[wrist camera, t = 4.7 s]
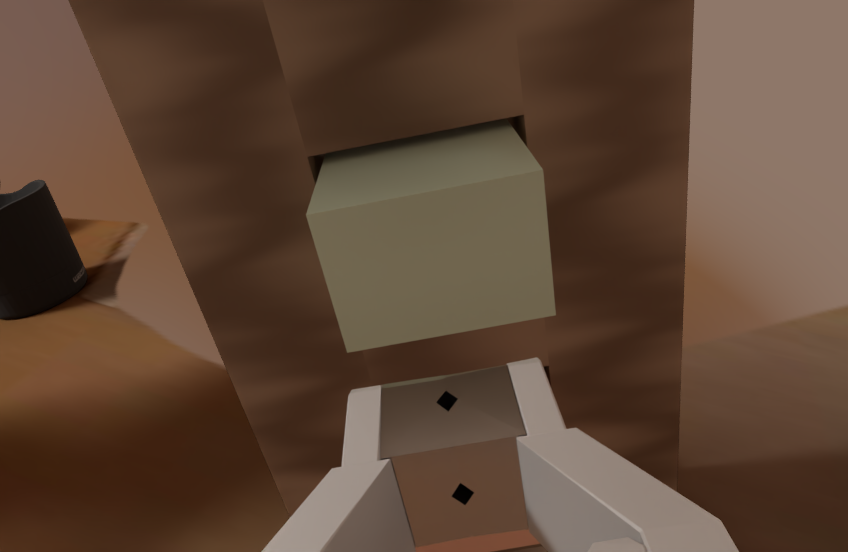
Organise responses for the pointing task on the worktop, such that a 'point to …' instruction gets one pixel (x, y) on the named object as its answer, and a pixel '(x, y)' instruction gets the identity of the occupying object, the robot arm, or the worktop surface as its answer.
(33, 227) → the pen holder
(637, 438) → the brown wooden shelf tower
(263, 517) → the worktop surface
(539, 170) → the key mid
